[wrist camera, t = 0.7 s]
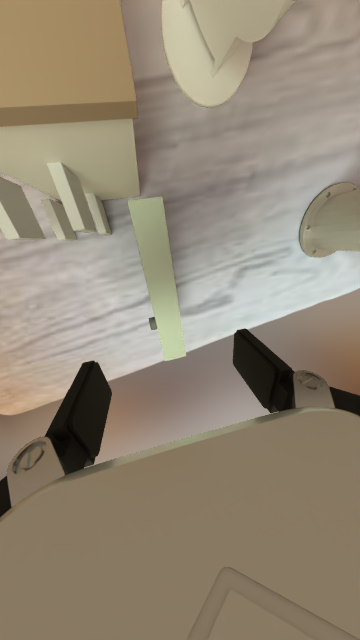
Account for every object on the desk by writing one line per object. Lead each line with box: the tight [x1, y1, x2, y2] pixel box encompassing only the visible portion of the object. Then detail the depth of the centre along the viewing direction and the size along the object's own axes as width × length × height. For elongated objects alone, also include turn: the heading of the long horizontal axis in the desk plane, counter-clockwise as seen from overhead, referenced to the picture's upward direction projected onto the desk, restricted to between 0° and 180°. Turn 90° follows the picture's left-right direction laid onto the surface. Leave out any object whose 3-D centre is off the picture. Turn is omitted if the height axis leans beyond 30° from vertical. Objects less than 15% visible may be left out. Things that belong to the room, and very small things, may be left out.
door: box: [127, 196, 186, 361], centre depth 24 cm, size 4×18×14 cm, turn 7°
